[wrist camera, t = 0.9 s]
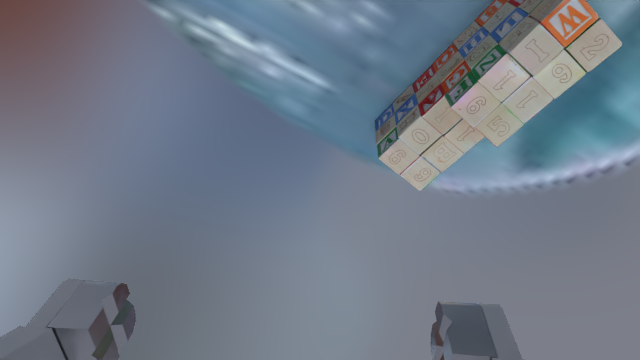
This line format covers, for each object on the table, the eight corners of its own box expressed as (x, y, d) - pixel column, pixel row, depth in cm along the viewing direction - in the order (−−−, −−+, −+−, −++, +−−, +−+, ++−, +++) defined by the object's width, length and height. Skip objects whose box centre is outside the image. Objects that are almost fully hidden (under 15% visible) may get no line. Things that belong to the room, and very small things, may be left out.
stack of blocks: (410, 151, 53) (422, 209, 43) (373, 120, 52) (376, 173, 41) (564, 12, 44) (626, 44, 33) (525, -32, 42) (578, -12, 32)
